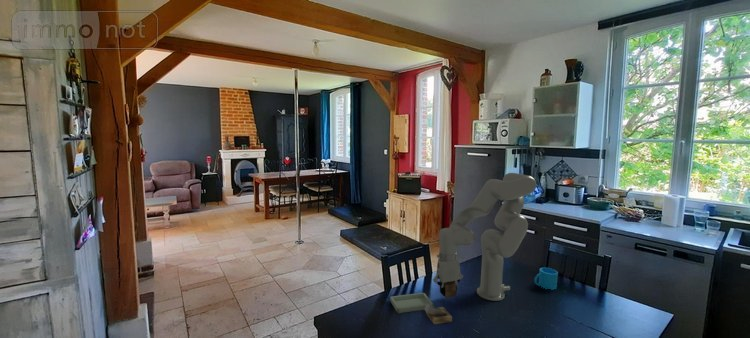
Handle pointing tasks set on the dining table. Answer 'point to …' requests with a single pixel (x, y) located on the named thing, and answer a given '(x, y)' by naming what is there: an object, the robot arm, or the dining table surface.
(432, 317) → the square wooden frame
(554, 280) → the mug
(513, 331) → the dining table surface
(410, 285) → the dining table surface
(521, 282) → the dining table surface
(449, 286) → the walnut block
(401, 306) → the tray
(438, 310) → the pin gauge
